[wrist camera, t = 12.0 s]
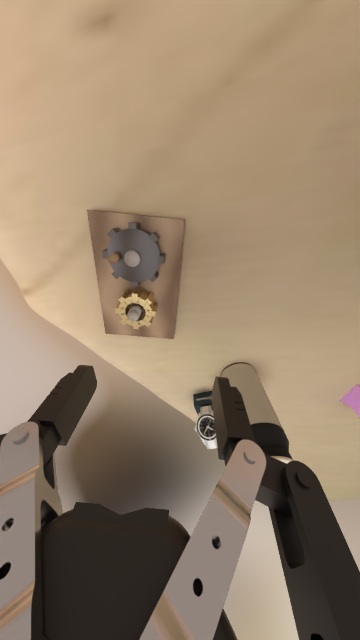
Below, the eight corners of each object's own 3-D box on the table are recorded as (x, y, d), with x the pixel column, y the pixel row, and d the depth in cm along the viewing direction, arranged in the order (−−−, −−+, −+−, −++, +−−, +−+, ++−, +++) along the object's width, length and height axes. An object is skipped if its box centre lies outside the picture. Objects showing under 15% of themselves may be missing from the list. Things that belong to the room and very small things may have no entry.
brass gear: (158, 288, 29) (155, 295, 26) (157, 321, 32) (155, 330, 29) (119, 284, 29) (113, 291, 26) (122, 318, 32) (116, 327, 29)
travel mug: (220, 363, 39) (244, 460, 24) (256, 360, 39) (306, 457, 23) (220, 387, 43) (242, 483, 28) (253, 384, 43) (295, 481, 27)
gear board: (184, 219, 25) (185, 220, 20) (174, 334, 35) (172, 356, 30) (92, 210, 25) (66, 208, 19) (108, 329, 35) (94, 350, 29)
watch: (213, 385, 43) (222, 433, 33) (219, 405, 47) (228, 453, 37) (191, 389, 44) (193, 437, 34) (198, 408, 48) (202, 456, 38)
